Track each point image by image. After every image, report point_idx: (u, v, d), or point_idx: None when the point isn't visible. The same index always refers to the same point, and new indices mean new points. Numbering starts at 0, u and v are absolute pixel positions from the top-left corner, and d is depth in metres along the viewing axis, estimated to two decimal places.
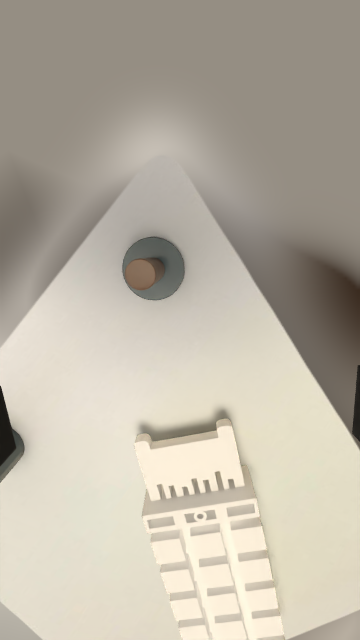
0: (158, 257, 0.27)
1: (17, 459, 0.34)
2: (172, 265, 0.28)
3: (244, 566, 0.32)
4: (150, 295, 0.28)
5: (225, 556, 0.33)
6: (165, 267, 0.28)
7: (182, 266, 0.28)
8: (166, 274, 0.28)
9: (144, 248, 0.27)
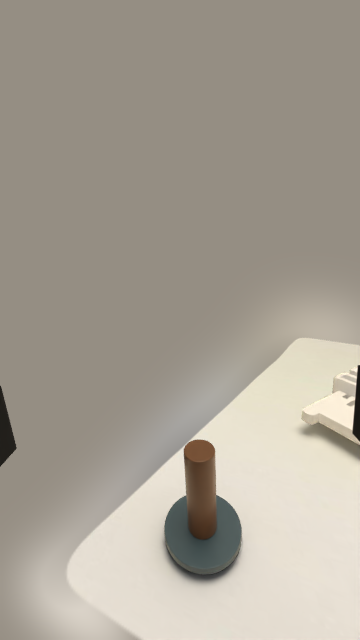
0: (186, 523, 0.23)
1: None
2: None
3: None
4: (233, 519, 0.23)
5: None
6: None
7: None
8: None
9: (181, 542, 0.21)
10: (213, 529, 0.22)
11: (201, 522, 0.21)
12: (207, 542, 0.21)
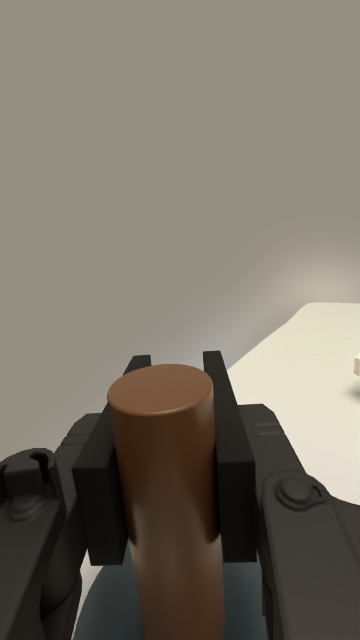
0: (139, 613, 0.08)
1: None
2: None
3: None
4: None
5: None
6: None
7: None
8: None
9: None
10: (216, 639, 0.07)
11: (177, 630, 0.06)
12: None
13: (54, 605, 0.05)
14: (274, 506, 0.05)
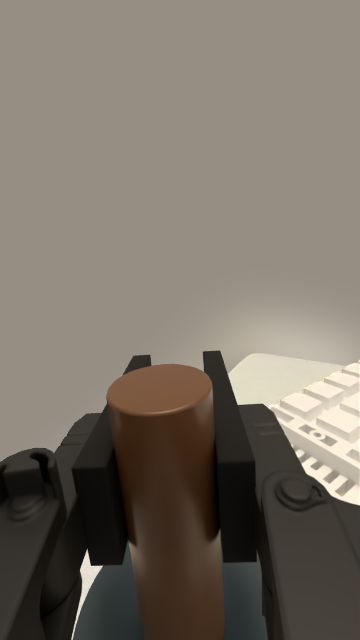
0: (139, 613, 0.08)
1: None
2: None
3: (329, 394, 0.35)
4: None
5: (341, 409, 0.33)
6: None
7: None
8: None
9: None
10: (215, 639, 0.07)
11: (176, 630, 0.06)
12: None
13: (54, 605, 0.05)
14: (274, 506, 0.05)
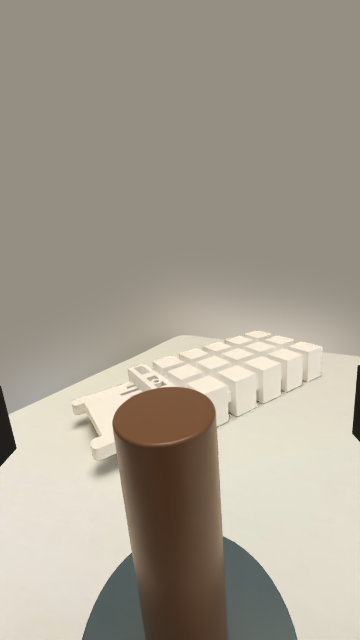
0: (143, 630, 0.08)
1: None
2: None
3: (193, 356, 0.41)
4: (270, 606, 0.08)
5: (197, 367, 0.39)
6: None
7: None
8: None
9: None
10: None
11: None
12: None
13: None
14: None
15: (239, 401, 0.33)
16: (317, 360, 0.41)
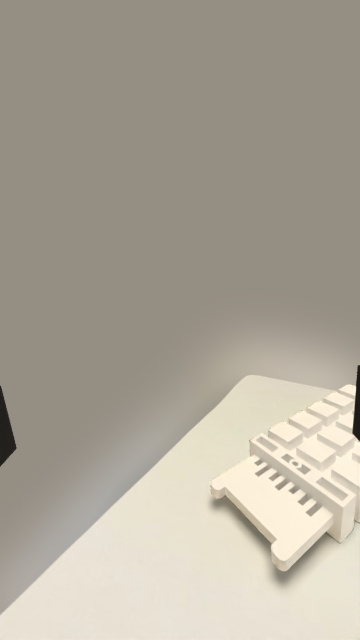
0: None
1: None
2: None
3: (309, 425, 0.41)
4: None
5: (318, 438, 0.39)
6: None
7: None
8: None
9: None
10: None
11: None
12: None
13: None
14: None
15: None
16: None
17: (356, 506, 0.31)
